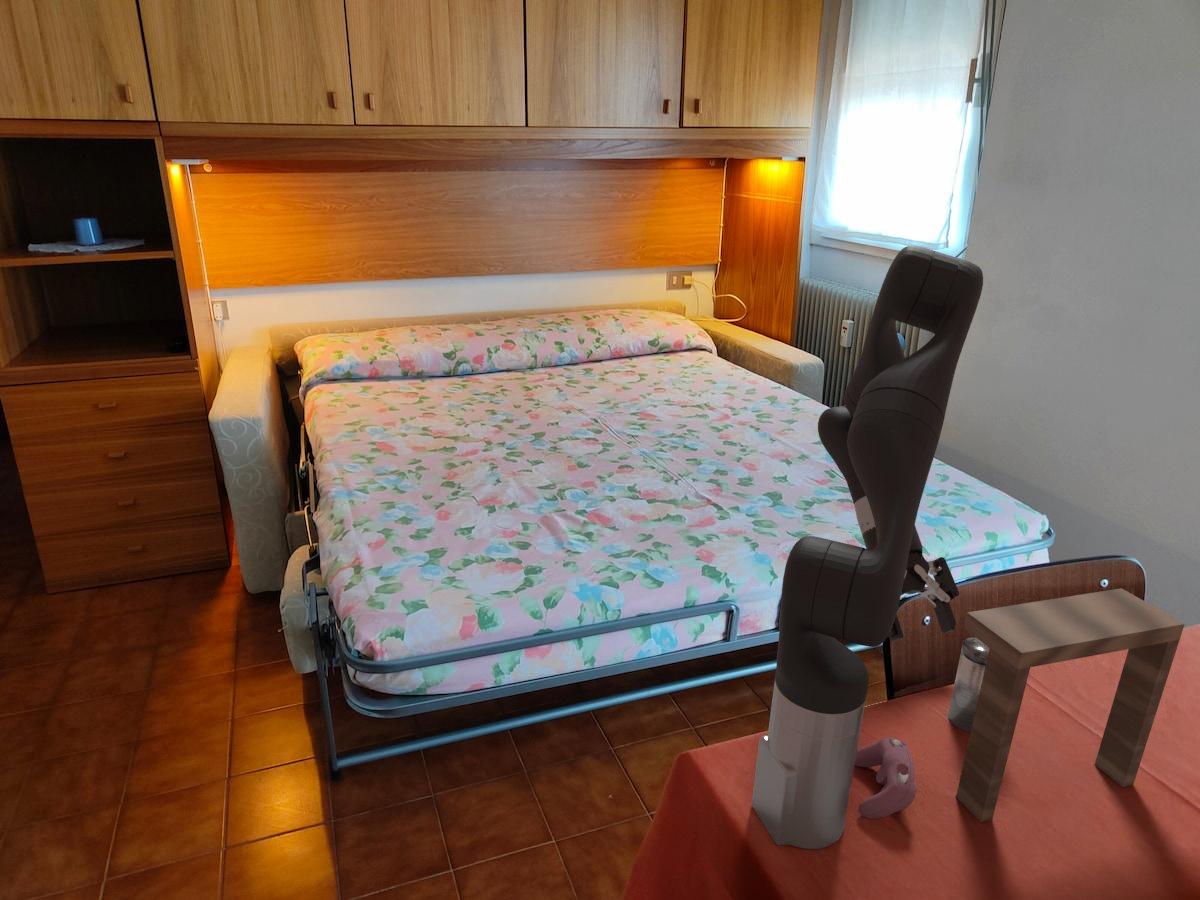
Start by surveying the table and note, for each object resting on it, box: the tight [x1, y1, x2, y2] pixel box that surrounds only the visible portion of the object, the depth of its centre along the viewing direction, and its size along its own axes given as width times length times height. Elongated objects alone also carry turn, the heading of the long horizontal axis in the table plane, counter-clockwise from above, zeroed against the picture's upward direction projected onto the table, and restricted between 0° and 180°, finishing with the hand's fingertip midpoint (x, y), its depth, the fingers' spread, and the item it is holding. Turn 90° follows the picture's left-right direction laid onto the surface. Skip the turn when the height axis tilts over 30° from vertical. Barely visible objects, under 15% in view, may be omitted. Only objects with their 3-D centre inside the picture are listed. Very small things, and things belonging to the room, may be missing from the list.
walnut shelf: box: [955, 588, 1185, 823], centre depth 94 cm, size 22×8×22 cm, turn 107°
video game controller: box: [855, 736, 918, 819], centre depth 94 cm, size 10×5×7 cm, turn 169°
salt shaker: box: [947, 636, 990, 733], centre depth 106 cm, size 5×5×11 cm
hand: (923, 635), depth 115 cm, fingers open, 8 cm apart
